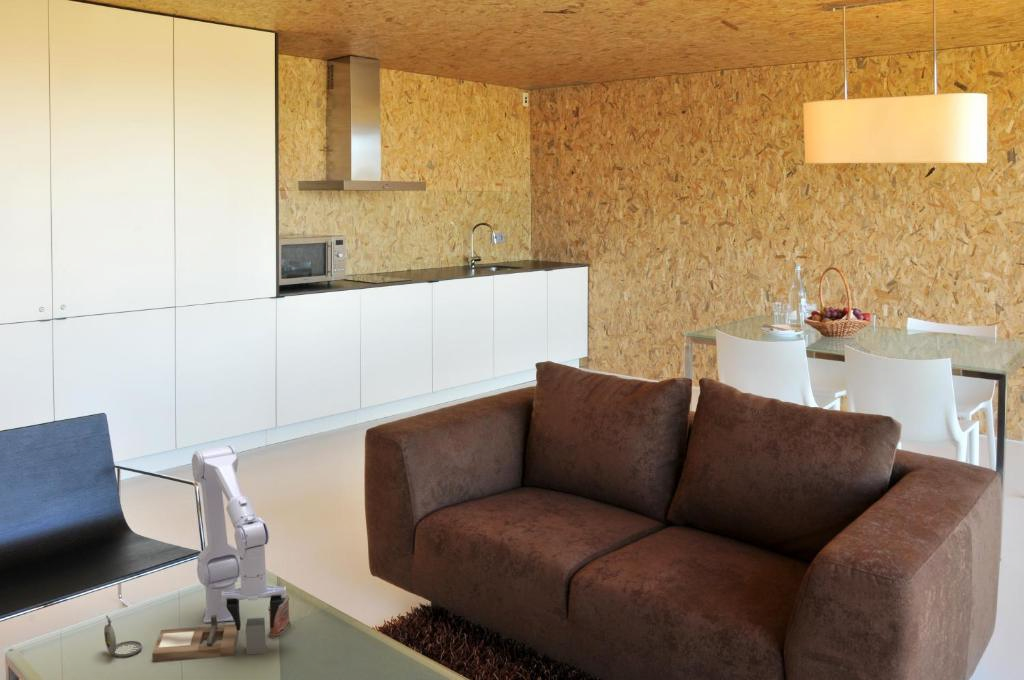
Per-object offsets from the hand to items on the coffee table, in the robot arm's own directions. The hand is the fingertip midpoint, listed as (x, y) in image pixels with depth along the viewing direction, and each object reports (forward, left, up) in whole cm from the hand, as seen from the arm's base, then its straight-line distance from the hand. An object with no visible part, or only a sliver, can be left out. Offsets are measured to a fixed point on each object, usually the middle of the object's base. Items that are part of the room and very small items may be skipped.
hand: (255, 627), depth 226 cm
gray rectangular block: (0, 0, -6) cm, 6 cm away
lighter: (-9, +5, -6) cm, 12 cm away
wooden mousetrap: (-4, -14, -6) cm, 16 cm away
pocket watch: (-4, -31, -6) cm, 32 cm away
